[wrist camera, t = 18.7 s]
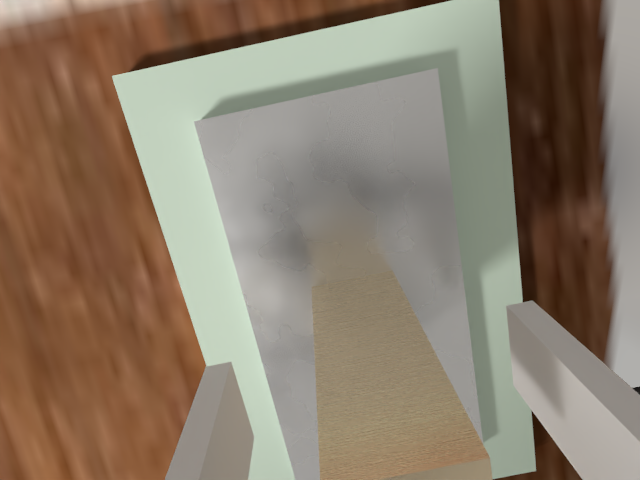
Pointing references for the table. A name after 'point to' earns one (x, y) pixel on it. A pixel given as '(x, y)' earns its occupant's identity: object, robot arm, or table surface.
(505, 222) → the rest mat
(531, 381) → the robot arm
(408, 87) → the beige post on base
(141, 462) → the table surface
